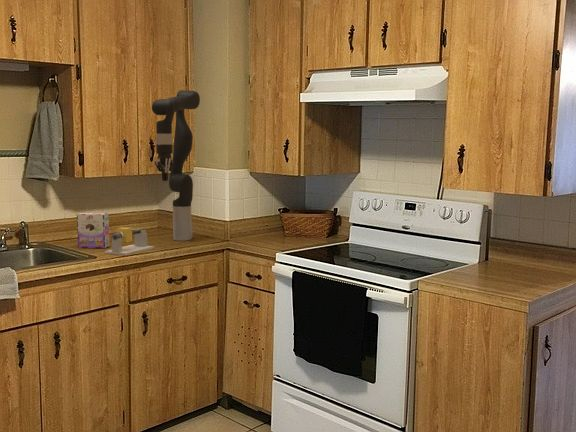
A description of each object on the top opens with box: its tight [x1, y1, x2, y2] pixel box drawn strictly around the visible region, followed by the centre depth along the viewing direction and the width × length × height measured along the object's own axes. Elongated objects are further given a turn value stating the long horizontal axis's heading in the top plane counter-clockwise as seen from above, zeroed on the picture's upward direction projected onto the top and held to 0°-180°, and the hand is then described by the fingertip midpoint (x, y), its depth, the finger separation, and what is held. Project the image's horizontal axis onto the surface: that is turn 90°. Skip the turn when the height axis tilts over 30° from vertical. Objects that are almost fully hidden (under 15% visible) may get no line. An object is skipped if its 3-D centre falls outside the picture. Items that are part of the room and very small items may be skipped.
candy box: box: [76, 212, 111, 249], centre depth 328 cm, size 14×6×16 cm, turn 80°
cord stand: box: [104, 228, 155, 256], centre depth 319 cm, size 20×12×10 cm, turn 153°
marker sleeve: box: [116, 227, 133, 243], centre depth 316 cm, size 4×5×6 cm
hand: (165, 180), depth 322 cm, fingers closed
